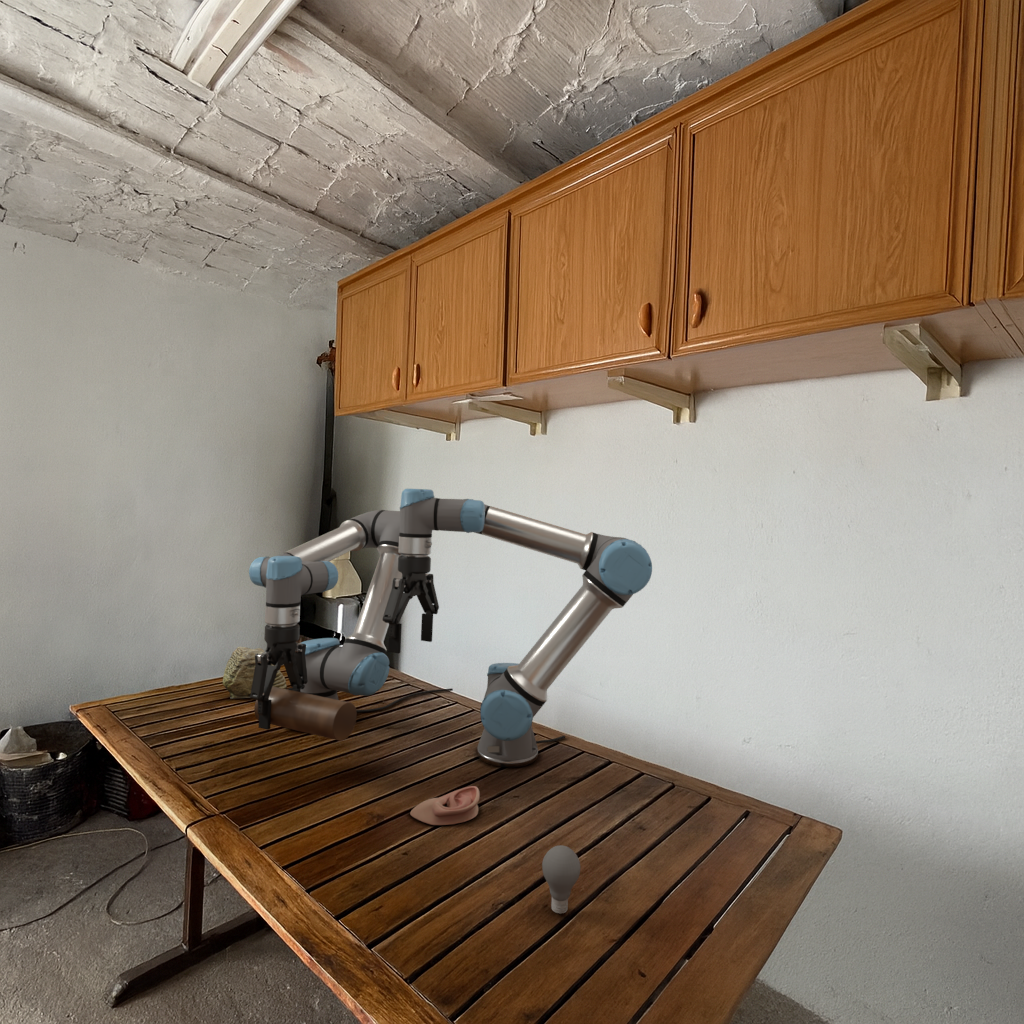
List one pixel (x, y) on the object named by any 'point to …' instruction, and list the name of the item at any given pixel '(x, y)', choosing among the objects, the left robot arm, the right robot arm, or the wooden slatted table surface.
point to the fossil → (245, 673)
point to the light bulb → (560, 875)
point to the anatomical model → (449, 807)
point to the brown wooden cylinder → (311, 713)
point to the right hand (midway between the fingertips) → (411, 646)
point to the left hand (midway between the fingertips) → (278, 722)
